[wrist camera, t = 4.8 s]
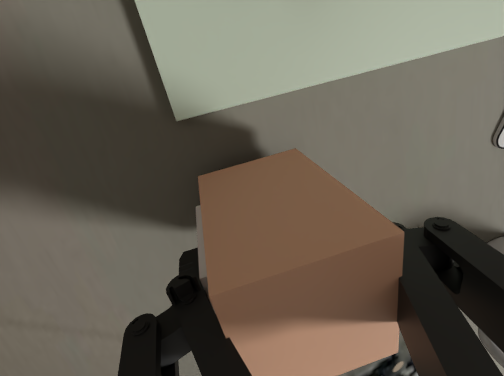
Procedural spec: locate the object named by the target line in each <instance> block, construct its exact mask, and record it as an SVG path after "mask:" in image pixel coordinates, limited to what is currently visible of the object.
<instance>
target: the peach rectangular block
mask: <svg viewBox="0 0 504 376" xmlns="http://www.w3.org/2000/svg"><path fill="white" fill-rule="evenodd" d="M198 183H199V194H200V205H201V216H202V227H203V238H204V249H205V260H206V270H207V281H208V292H209V298H210V301H211V303H212V306H213V308H214V310H215V313H216V315H217V318H218V320H219V323H220V325H221V328H222V330H223V333H224V335H225V337H226V338H229V337H230V339H231V341H232V343H233V344H234V346H235V348H236V349H237V351H238V353H239V354H240V356H241V358H242V359H243V361H244V363H245V365H246V366H247V368H248V370H249V371H250V373H251V375H252V376H337V375H340V374H343V373H345V372H348V371H350V370H353V369H356V368H358V367H361V366H364V365H366V364H369V363H371V362H374V361H377V360H379V359H382V358H385V357H387V356H390V355H392V354H395V353H398V345H399V326H398V323H397V308H398V284H399V277H401V276H402V269H403V250H404V231H403V230H401V229H400V228H399V227H397V226H396V225H395V224H394V223H392V222H391V221H390V220H388V219H387V218H386V217H384V216H383V215H382V214H380V213H379V212H378V211H377V210H375V209H374V208H373V207H371V206H370V205H369V204H367V203H366V202H365V201H364V200H362V199H361V198H360V197H358V196H357V195H356V194H354V193H353V192H352V191H350V190H349V189H348V188H347V187H345V186H344V185H343V184H341V183H340V182H339V181H337V180H336V179H335V178H334V177H332V176H331V175H330V174H328V173H327V172H326V171H324V170H323V169H322V168H320V167H319V166H318V165H317V164H315V163H314V162H313V161H311V160H310V159H309V158H307V157H306V156H305V155H304V154H302V153H301V152H300V151H298V150H297V149H296V148H295V149H292V150H288V151H285V152H281V153H278V154H274V155H271V156H267V157H264V158H260V159H257V160H253V161H250V162H246V163H242V164H239V165H235V166H232V167H228V168H225V169H221V170H218V171H214V172H211V173H207V174H204V175H200V176H198Z"/></svg>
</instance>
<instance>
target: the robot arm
mask: <svg viewBox="0 0 504 376" xmlns="http://www.w3.org/2000/svg"><path fill="white" fill-rule="evenodd" d="M392 223H394V222H392ZM196 224H197V242H198V248H195V249H192V250H189V251H185V252H183V254H182V256H181V257H180V259H179V275H178V276H176V277H175V278H174V279H172V280H171V281H170V283H169V284H168V286H167V288H166V293H167V295H168V297H169V299H170V301H171V303H172V306H171V307H170V308H169V309H167V310H166V311H165V312H163V313H161V314H160V315H158V316H157V317H155V316H154V315H153V314H148V313H147V314H143V315H140V316H138V317H137V318H135V319H134V320H133V321H132V322H130V324H129V325H128V326H127V328H126V330H125V333H124V337H123V344H122V351H121V357H120V364H119V371H118V376H179V365H178V360H179V359H180V358H182V357H183V356H184V355H186V354H187V353H189V352H190V351H191V350H192V353H193V355H194V358H195V360H196V362H197V365H198V367H199V370H200V372H201V375H202V376H252V375H251V373H250V371H249V370H248V368H247V366H246V365H245V363H244V361H243V359H242V358H241V356H240V354H239V353H238V351H237V349H236V348H235V346H234V344H233V343H232V341H231V339H230V337H229V338H226V337H225V335H224V333H223V330H222V328H221V325H220V323H219V320H218V318H217V315H216V313H215V310H214V308H213V306H212V303H211V301H210V298H209V292H208V281H207V270H206V260H205V249H204V238H203V227H202V216H201V205H199V206H196ZM394 224H395V225H396V226H397V227H399V228H400V229H401V230H403V231H404V250H403V269H402V276H401V277H399V284H398V308H397V323H398V326H399V328H400V331H401V333H402V336H403V338H404V341H405V343H406V346H407V348H408V351H409V353H410V356H411V358H412V360H413V363H414V365H415V368H416V370H417V373H418V375H419V376H503V375H502V373H501V372H500V370H499V369H498V367H497V366H496V364H495V363H494V361H493V360H492V358H491V357H490V355H489V354H488V352H487V351H486V349H485V348H484V346H483V345H482V343H481V341H480V340H479V338H478V337H477V335H476V334H475V332H474V331H473V329H472V328H471V326H470V325H469V323H468V322H467V320H466V319H465V317H464V316H463V314H462V313H461V311H460V309H461V310H462V311H463V312H464V313H465V314H466V315H467V316H468V317H469V318H470V319H471V320H472V321H473V322H474V323H475V324H476V325H477V326H478V327H479V328H480V330H481V331H482V332H483V333H484V334H485V335H486V336H487V337H488V338H489V339H490V340H491V341H492V342H493V343H494V344H495V345H496V346H497V347H498V348H499V349H500V350H501V351H502V352H503V353H504V255H503V254H502V253H500V252H499V251H498V250H496V249H495V248H493V247H492V246H490V245H489V244H487V243H486V242H484V241H483V240H481V239H480V238H478V237H477V236H475V235H474V234H472V233H471V232H469V231H468V230H466V229H465V228H463V227H462V226H460V225H459V224H457V223H456V222H454V221H452V220H450V219H446V218H441V217H434V218H430V219H427V220H426V221H425V222H424V228H412V229H406V228H405V227H404V226H403V225H401V224H399V223H394ZM454 261H455V262H454ZM458 307H459V308H460V309H459V308H458Z"/></svg>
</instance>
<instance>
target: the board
mask: <svg viewBox="0 0 504 376" xmlns="http://www.w3.org/2000/svg"><path fill="white" fill-rule="evenodd" d="M135 3H136V6H137V9H138V12H139V15H140V18H141V20H142V23H143V26H144V29H145V32H146V35H147V38H148V41H149V44H150V46H151V49H152V52H153V55H154V58H155V61H156V64H157V67H158V69H159V72H160V75H161V78H162V81H163V84H164V87H165V90H166V93H167V95H168V98H169V101H170V104H171V107H172V110H173V113H174V116H175V118H176V121H180V120H183V119H187V118H191V117H195V116H199V115H203V114H206V113H210V112H214V111H218V110H222V109H226V108H229V107H233V106H237V105H241V104H245V103H249V102H252V101H256V100H260V99H264V98H268V97H272V96H275V95H279V94H283V93H287V92H291V91H295V90H298V89H302V88H306V87H310V86H314V85H318V84H321V83H325V82H329V81H333V80H337V79H341V78H344V77H348V76H352V75H356V74H360V73H364V72H367V71H371V70H375V69H379V68H383V67H387V66H390V65H394V64H398V63H402V62H406V61H410V60H413V59H417V58H421V57H425V56H429V55H433V54H436V53H440V52H444V51H448V50H452V49H456V48H459V47H463V46H467V45H471V44H475V43H479V42H482V41H486V40H490V39H494V38H498V37H502V36H504V0H135Z"/></svg>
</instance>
